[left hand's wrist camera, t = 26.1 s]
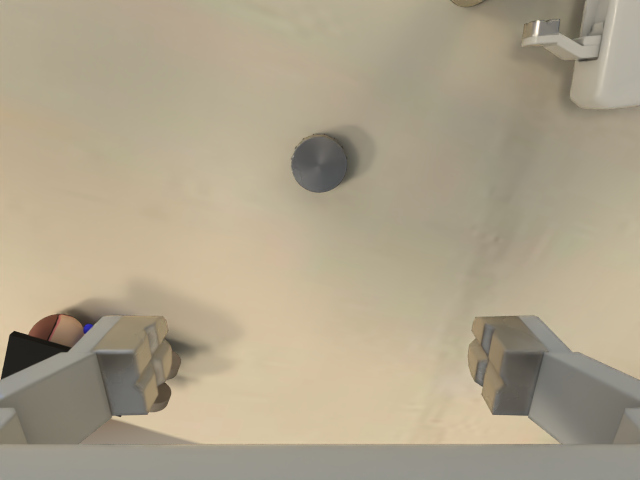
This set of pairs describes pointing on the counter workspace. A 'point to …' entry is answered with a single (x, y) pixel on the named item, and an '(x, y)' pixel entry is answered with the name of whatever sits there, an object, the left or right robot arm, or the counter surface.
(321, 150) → the lid
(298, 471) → the left robot arm
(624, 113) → the counter surface
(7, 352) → the figurine character
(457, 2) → the beige cylinder
